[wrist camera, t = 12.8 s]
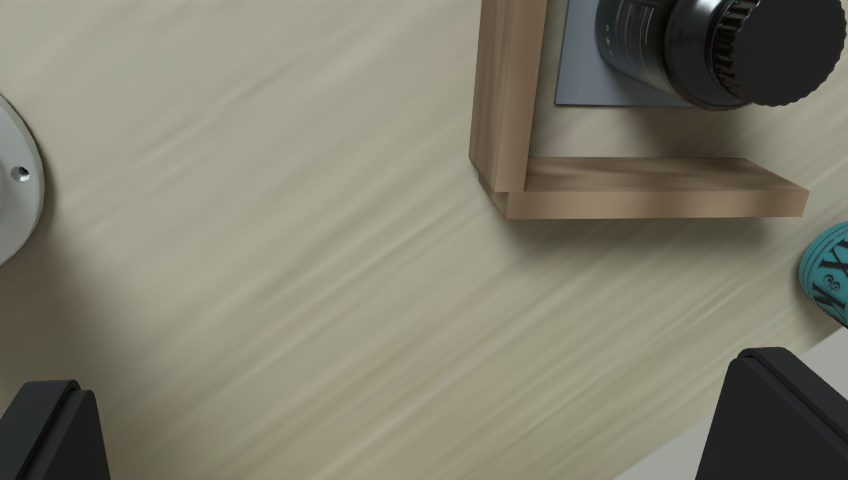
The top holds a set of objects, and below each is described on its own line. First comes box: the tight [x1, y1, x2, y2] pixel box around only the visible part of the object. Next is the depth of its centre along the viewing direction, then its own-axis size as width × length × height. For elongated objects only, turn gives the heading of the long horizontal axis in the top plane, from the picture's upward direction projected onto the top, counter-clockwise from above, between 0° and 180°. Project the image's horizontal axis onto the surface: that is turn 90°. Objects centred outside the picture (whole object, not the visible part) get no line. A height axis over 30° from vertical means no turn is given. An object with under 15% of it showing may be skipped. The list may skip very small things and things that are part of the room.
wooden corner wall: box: [469, 0, 810, 220], centre depth 34 cm, size 18×18×6 cm
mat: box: [554, 0, 696, 107], centre depth 36 cm, size 10×10×1 cm
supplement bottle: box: [595, 0, 847, 111], centre depth 30 cm, size 7×7×12 cm
